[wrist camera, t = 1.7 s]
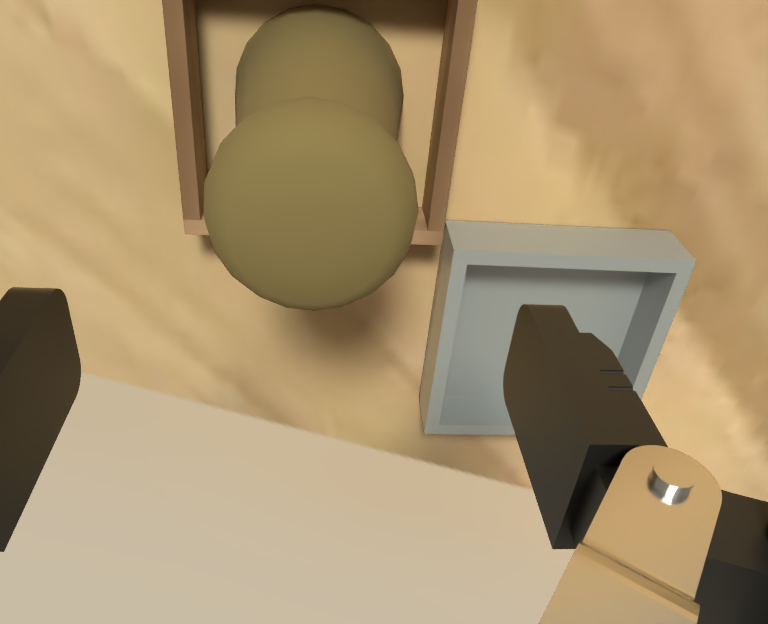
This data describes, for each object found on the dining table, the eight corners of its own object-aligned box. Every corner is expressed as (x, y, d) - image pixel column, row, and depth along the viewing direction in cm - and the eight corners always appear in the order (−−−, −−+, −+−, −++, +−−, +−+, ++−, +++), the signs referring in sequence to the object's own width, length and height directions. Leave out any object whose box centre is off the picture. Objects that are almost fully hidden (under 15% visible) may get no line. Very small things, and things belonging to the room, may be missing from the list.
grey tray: (670, 230, 28) (696, 260, 26) (608, 401, 33) (626, 437, 31) (445, 220, 27) (454, 250, 25) (419, 397, 32) (424, 434, 30)
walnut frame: (471, -44, 22) (482, -35, 20) (435, 221, 27) (441, 245, 25) (170, -69, 21) (156, -63, 19) (194, 210, 26) (184, 234, 25)
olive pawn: (340, 202, 26) (341, 384, 17) (203, 113, 24) (123, 269, 15) (437, 77, 24) (498, 214, 15) (295, -37, 22) (265, 43, 13)
